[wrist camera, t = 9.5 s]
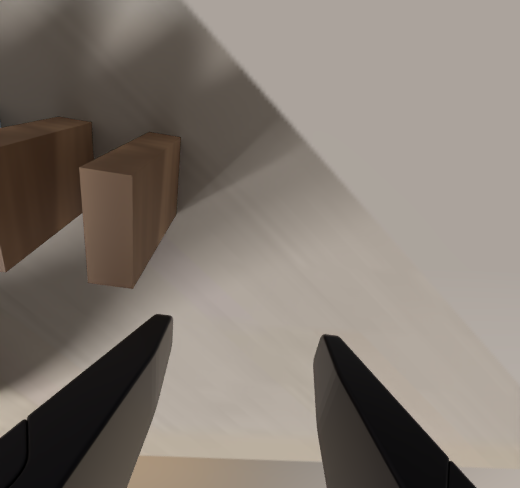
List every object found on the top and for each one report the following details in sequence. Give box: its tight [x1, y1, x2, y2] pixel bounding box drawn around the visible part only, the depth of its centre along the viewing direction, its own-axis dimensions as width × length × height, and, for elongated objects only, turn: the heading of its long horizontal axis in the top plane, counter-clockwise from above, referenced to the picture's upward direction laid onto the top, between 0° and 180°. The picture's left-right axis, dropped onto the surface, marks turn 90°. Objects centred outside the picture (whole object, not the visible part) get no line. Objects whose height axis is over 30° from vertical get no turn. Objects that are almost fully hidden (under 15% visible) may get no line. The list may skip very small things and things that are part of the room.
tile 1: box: [79, 132, 181, 289], centre depth 16 cm, size 2×5×8 cm, turn 171°
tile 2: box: [0, 117, 94, 272], centre depth 16 cm, size 2×5×8 cm, turn 171°
